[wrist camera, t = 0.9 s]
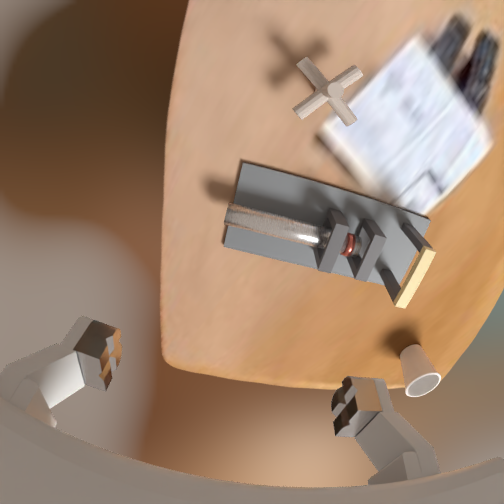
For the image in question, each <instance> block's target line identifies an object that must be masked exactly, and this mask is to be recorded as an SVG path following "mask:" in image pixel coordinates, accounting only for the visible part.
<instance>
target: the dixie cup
mask: <svg viewBox="0 0 504 504" xmlns="http://www.w3.org/2000/svg"><path fill="white" fill-rule="evenodd" d="M400 360H401V365H402V370H403V376H404V381H405V387H406V390H405V393H406V394H407V395H408V396H410V397H418V396H421V395H424V394H426V393H428V392H430V391H431V390H433V389H434V388H435V387H436V386H437V385H438V384H439V382H440V379H441V376H440V374H439V373H437V371H436V369H435V368H434V366H433V365H432V363H431V361H430V360H429V358H428V357H427V355H426V353H425V352H424V350H423V349H422V347H421V346H420V345H417V344H414V345H410V346H408V347H406V348H405V349H404V350H403V351H402V352H401V354H400Z"/></svg>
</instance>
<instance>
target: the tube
mask: <svg viewBox="0 0 504 504" xmlns="http://www.w3.org/2000/svg"><path fill="white" fill-rule="evenodd" d="M224 225H228V226H232V227H236V228H240V229H244V230H249V231H253V232H257V233H261V234H265V235H269V236H273V237H277V238H281V239H285V240H289V241H293V242H297V243H301V244H305V245H309V246H313V247H317V248H321V249H325V247H326V244H327V242H328V239H329V236H330V234H331V231H332V229H330V228H327V227H323V226H319V225H316V224H312V223H308V222H305V221H301V220H297V219H293V218H289V217H285V216H282V215H278V214H274V213H270V212H266V211H262V210H258V209H254V208H250V207H246V206H241V205H237V204H233V203H229V204H228V208H227V212H226V216H225V220H224ZM361 246H362V239H361V237H359V236H355V234H352V233H349V232H348V233H347V236H346V238H345V240H344V243H343V245H342V248H341V250H340V255H344V256H348V257H349V256H352V257H357V256H358V254H359V252H360V250H361Z"/></svg>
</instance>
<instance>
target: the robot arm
mask: <svg viewBox="0 0 504 504" xmlns="http://www.w3.org/2000/svg"><path fill="white" fill-rule="evenodd" d="M120 337H121V331H120V329H119V328H116V327H113V326H110V325H107V324H104V323H102V322H99V321H96V320H93V319H90V318H88V317H85V316H81V317H80V318H78V320H77V321H76V323H75V324H74V325H73V327H72V328H71V329H70V331H69V332H68V334H67V335H66V337H65V338H64V339H63V341H62V342H61V344H60V345H59V344H57V343H56V344H54V345H52V346H49V347H47V348H45V349H42V350H40V351H38V352H36V353H33V354H31V355H29V356H26V357H24V358H21V359H19V360H17V361H15V362H12V363H10V364H8V365H6V367H5V368H4V369H3V371H2V372H1V373H0V504H504V459H503V458H501V457H496V458H492V459H490V460H487V461H484V462H481V463H478V464H474V465H471V466H468V467H464V468H460V469H457V470H453V471H449V472H445V473H441V472H440V469H439V465H438V462H437V459H436V455H435V451H434V448H433V447H432V446H431V445H430V444H429V443H428V442H427V441H426V440H425V439H424V438H423V437H422V436H421V435H420V434H419V433H418V432H417V431H416V430H415V429H414V428H413V427H412V426H411V425H410V424H409V423H408V422H407V421H406V420H405V419H404V418H403V417H402V416H401V415H400V414H399V413H398V412H394V409H393V405H392V402H391V399H390V396H389V392H388V389H387V386H386V383H385V381H384V380H383V379H378V378H366V377H354V376H347V377H345V378H344V380H343V381H342V387H340V388H339V389H337V390H336V392H335V393H334V395H333V398H332V401H331V409H332V413H333V414H334V415H335V416H336V418H335V420H334V421H333V424H334V430H335V436H342V437H355V439H356V441H357V442H358V444H359V445H360V446H361V448H362V449H363V451H364V452H365V453H366V455H367V456H368V458H369V459H370V460H371V462H372V463H373V465H374V466H375V467H376V469H377V470H378V473H376V474H375V475H374V476H372V477H371V478H370V479H369V480H368V485H364V486H351V487H326V488H325V487H324V488H305V487H280V486H266V485H255V484H246V483H238V482H231V481H224V480H218V479H212V478H206V477H201V476H196V475H191V474H187V473H182V472H178V471H174V470H170V469H166V468H162V467H158V466H154V465H151V464H147V463H144V462H141V461H138V460H134V459H131V458H128V457H125V456H122V455H119V454H117V453H114V452H111V451H108V450H106V449H103V448H100V447H98V446H95V445H93V444H90V443H88V442H85V441H83V440H81V439H78V438H76V437H74V436H72V435H69V434H67V433H65V432H63V431H61V430H59V429H57V428H55V426H56V424H57V422H56V419H55V418H54V416H53V414H52V412H51V410H50V408H52V407H53V406H55V405H56V404H58V403H59V402H61V401H62V400H64V399H65V398H67V397H68V396H70V395H72V394H73V393H74V392H76V391H77V390H79V389H80V388H82V387H84V386H85V384H86V385H88V386H91V387H94V388H97V389H100V390H102V391H107V388H108V386H109V384H110V382H111V380H112V371H114V370H116V369H117V367H118V365H119V363H120V359H121V356H122V345H121V344H120V342H119V339H120Z"/></svg>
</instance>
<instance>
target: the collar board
mask: <svg viewBox="0 0 504 504" xmlns="http://www.w3.org/2000/svg"><path fill="white" fill-rule="evenodd" d="M233 204H237V205H241V206H246V207H250V208H254V209H258V210H262V211H266V212H270V213H274V214H278V215H282V216H285V217H289V218H293V219H297V220H301V221H305V222H308V223H312V224H316V225H319V226H323V227H327V228H330V229H332V231H331V234H330V236H329V239H328V242H327V244H326V247H325V249H321V248H317V247H313V246H309V245H305V244H301V243H297V242H293V241H289V240H285V239H281V238H277V237H273V236H269V235H265V234H261V233H257V232H253V231H249V230H244V229H240V228H236V227H232V226H228V229H227V234H226V238H225V243H224V247H227V248H231V249H235V250H239V251H243V252H248V253H252V254H256V255H260V256H264V257H268V258H273V259H277V260H281V261H285V262H289V263H293V264H298V265H302V266H306V267H310V268H314V269H318V270H319V271H323V272H327V273H335V274H339V275H343V276H348V277H352V278H355V279H356V280H361V281H365V282H367V281H369V282H373V283H377V284H381V285H385V287H386V289H387V291H388V293H389V295H390V297H391V299H392V301H393V303H394V305H395V307H400V308H406V306H407V305H408V303H409V301H410V300H411V298H412V296H413V294H414V293H415V291H416V289H417V287H418V286H419V284H420V282H421V280H422V279H423V277H424V275H425V273H426V271H427V269H428V267H429V266H430V264H431V262H432V260H433V258H434V256H435V254H436V251H435V250H434V249H433V248H432V247H431V246H430V244H429V243H428V242H427V241H426V240H425V239H424V238H423V237H424V235H425V233H426V230H427V228H428V226H429V224H430V222H431V220H429V219H427V218H424V217H422V216H419V215H416V214H414V213H411V212H408V211H406V210H403V209H400V208H397V207H395V206H392V205H389V204H386V203H383V202H380V201H377V200H374V199H371V198H368V197H365V196H362V195H359V194H356V193H353V192H350V191H347V190H344V189H340V188H337V187H334V186H330V185H327V184H324V183H320V182H317V181H314V180H310V179H307V178H303V177H299V176H296V175H292V174H289V173H285V172H281V171H277V170H273V169H270V168H266V167H262V166H258V165H254V164H249V163H245V162H243V165H242V169H241V173H240V177H239V182H238V186H237V190H236V194H235V199H234V203H233ZM348 232H349V233H352V234H355V236H359V237H361V239H362V246H361V250H360V252H359V254H358V256H357V257H352V256H349V257H348V256H344V255H340V250H341V248H342V245H343V243H344V240H345V238H346V236H347V233H348ZM417 250H418V251H419V252H420V253H419V255H418V257H417V259H416V261H415V263H414V265H413V267H412V269H411V271H410V273H409V275H408V277H407V278H406V280H405V282H404V284H403V286H402V288H401V287H400V285H399V284H400V282H401V281H402V279H403V277H404V275H405V273H406V271H407V269H408V267H409V265H410V263H411V261H412V260H413V258H414V256H415V253H416V251H417Z"/></svg>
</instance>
